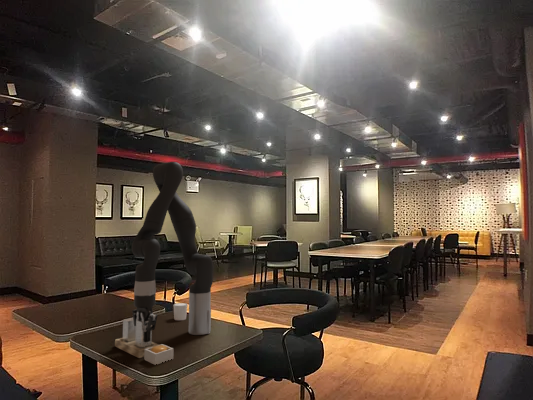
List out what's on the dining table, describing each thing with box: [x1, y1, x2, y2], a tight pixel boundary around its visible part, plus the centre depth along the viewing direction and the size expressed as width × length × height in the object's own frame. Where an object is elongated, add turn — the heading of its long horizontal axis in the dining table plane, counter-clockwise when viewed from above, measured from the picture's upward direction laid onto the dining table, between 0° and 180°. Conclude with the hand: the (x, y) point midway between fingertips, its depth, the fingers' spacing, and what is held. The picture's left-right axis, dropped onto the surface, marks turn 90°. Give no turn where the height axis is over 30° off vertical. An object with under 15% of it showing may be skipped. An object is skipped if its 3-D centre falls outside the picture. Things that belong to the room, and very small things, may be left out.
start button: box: [152, 344, 167, 353], centre depth 122 cm, size 5×5×2 cm
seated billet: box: [122, 317, 136, 343], centre depth 135 cm, size 4×4×10 cm
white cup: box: [172, 302, 188, 321], centre depth 173 cm, size 7×7×7 cm
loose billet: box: [136, 320, 153, 349], centre depth 128 cm, size 4×4×10 cm
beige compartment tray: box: [114, 337, 160, 359], centre depth 131 cm, size 18×8×2 cm, turn 49°
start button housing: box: [143, 343, 175, 366], centre depth 122 cm, size 7×7×4 cm
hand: (143, 340), depth 128 cm, fingers closed on loose billet, 4 cm apart
